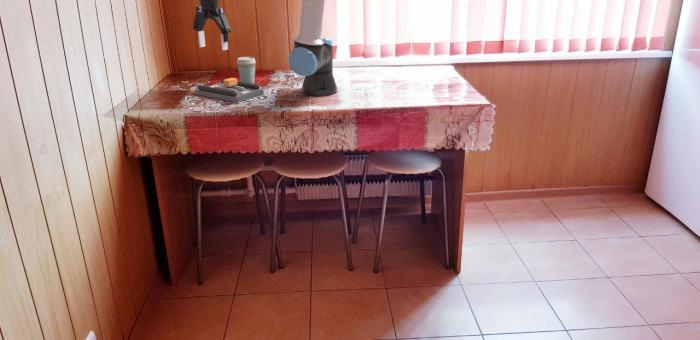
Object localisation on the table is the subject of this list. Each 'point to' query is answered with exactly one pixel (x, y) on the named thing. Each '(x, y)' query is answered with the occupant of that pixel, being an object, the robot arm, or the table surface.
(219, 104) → the table surface
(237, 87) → the slide switch panel
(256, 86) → the pair of grey bars
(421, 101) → the table surface
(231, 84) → the lever
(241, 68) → the coffee cup
